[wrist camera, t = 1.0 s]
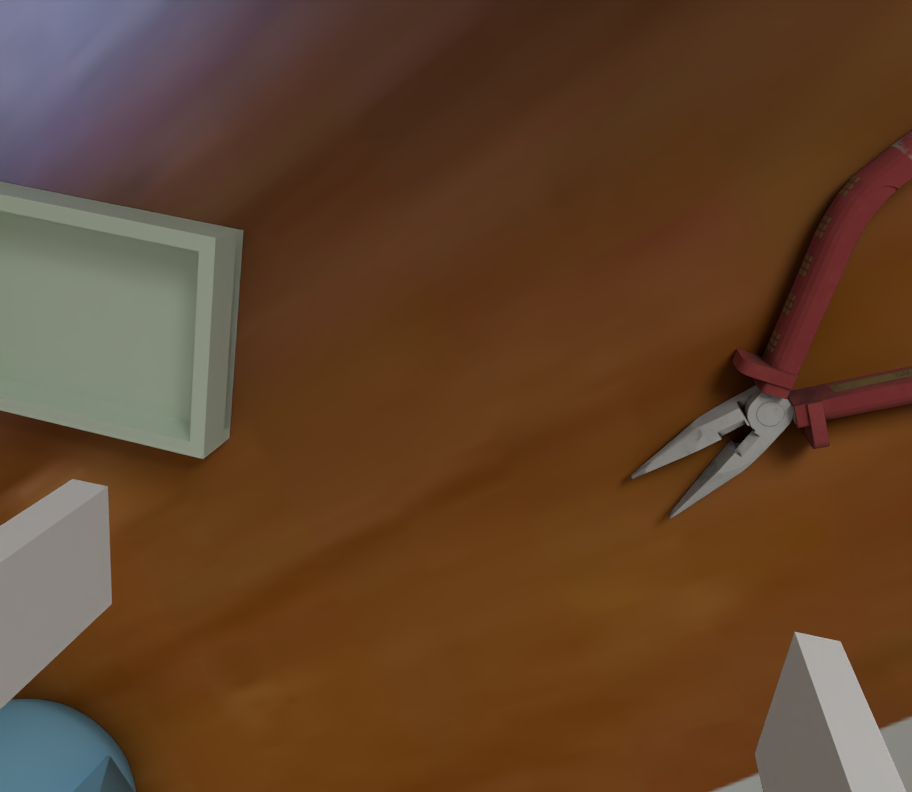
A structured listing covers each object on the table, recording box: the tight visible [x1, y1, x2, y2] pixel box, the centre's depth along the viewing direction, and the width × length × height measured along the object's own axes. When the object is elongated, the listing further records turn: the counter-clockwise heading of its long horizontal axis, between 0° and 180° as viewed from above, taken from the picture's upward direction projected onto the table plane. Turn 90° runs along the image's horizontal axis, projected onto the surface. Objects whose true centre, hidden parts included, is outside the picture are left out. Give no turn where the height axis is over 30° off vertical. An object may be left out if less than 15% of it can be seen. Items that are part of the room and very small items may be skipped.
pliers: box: [631, 130, 912, 519], centre depth 36 cm, size 12×20×3 cm, turn 136°
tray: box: [0, 181, 244, 459], centre depth 41 cm, size 12×16×3 cm
